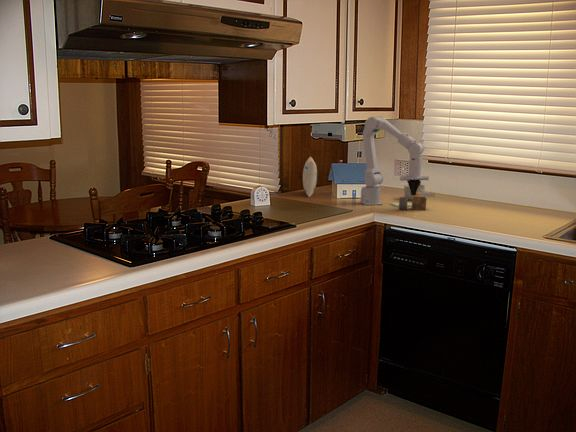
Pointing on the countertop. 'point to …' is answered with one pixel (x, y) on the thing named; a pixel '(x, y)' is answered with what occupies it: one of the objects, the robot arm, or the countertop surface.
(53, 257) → the countertop surface
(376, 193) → the robot arm
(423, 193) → the steel bar
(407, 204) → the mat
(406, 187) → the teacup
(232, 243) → the countertop surface
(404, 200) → the plug
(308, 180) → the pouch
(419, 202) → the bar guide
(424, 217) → the countertop surface
